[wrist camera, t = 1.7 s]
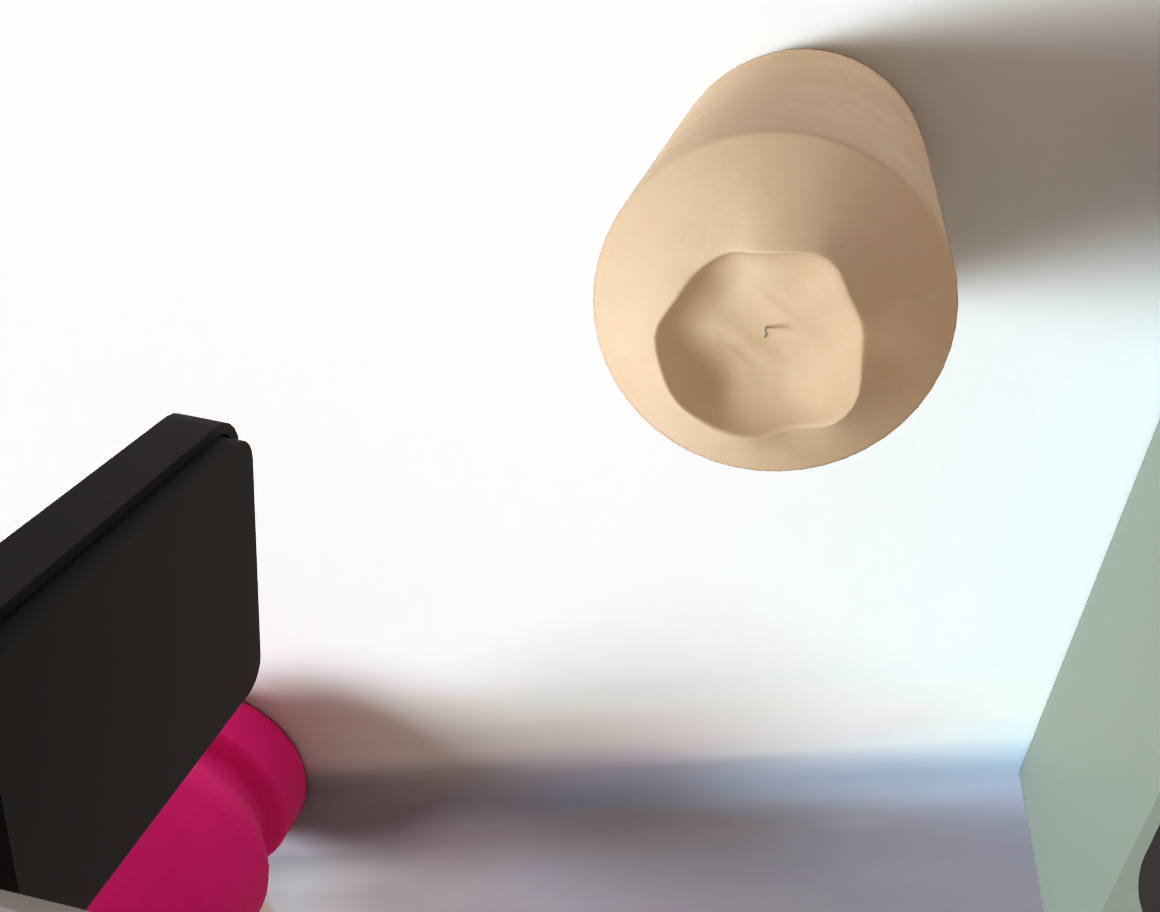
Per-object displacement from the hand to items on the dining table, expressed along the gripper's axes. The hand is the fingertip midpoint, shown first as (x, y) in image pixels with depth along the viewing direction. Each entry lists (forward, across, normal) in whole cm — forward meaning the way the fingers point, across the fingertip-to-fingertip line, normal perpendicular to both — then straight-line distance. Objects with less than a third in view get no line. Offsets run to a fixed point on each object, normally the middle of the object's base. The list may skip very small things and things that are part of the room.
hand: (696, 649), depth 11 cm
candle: (+16, 0, -1) cm, 16 cm away
